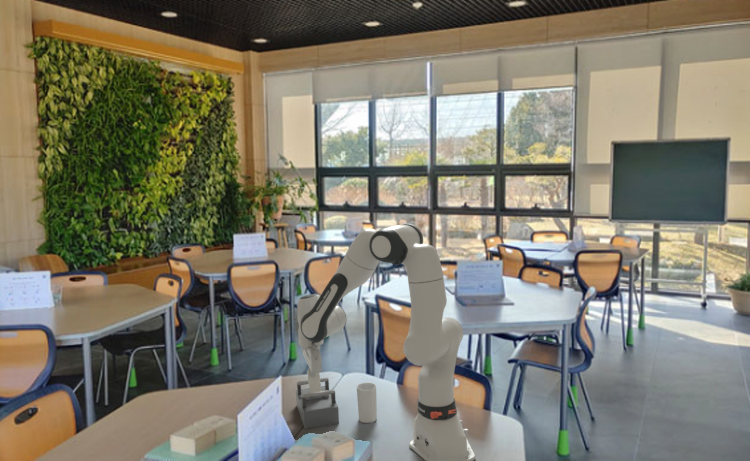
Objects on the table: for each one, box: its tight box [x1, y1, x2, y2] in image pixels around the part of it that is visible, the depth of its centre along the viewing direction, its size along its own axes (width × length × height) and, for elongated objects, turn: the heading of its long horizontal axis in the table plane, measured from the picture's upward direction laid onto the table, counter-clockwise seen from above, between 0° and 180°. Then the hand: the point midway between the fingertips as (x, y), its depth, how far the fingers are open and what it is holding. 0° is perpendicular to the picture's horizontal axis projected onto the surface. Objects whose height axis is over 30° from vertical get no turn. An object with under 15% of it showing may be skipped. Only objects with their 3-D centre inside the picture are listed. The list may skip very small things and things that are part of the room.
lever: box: [306, 370, 322, 398], centre depth 205 cm, size 3×4×11 cm
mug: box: [356, 382, 378, 424], centre depth 199 cm, size 10×7×12 cm, turn 169°
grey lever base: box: [295, 377, 340, 430], centre depth 203 cm, size 20×12×11 cm, turn 16°
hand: (312, 375), depth 203 cm, fingers closed
